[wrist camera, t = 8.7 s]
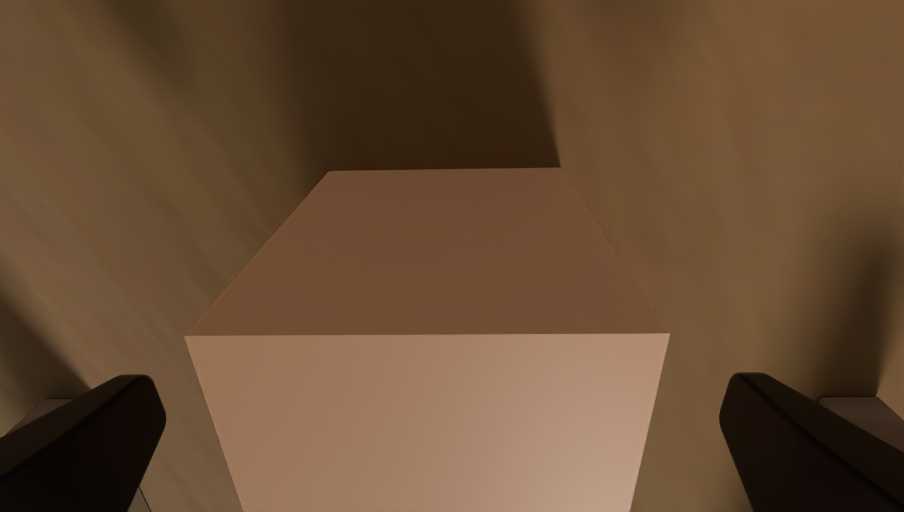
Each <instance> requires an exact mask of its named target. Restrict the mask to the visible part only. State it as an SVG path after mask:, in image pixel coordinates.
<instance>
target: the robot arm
mask: <svg viewBox="0 0 904 512" xmlns="http://www.w3.org/2000/svg"><path fill="white" fill-rule="evenodd" d="M719 421H720V427H721V430H722V433H723V435H724V438H725V440H726V443H727V445H728V448H729V450H730V453H731V456H732V458H733V461H734V463H735V466H736V468H737V471H738V474H739V476H740V479H741V481H742V484H743V486H744V489H745V492H746V494H747V497H748V499H749V502H750V504H751V507H752V510H753V512H904V452H903V451H901V450H900V449H898V448H896V447H894V446H892V445H891V444H889V443H887V442H885V441H884V440H882V439H880V438H878V437H877V436H875V435H873V434H871V433H869V432H868V431H866V430H864V429H862V428H861V427H859V426H857V425H855V424H854V423H852V422H850V421H848V420H847V419H845V418H843V417H841V416H839V415H838V414H836V413H834V412H832V411H831V410H829V409H827V408H825V407H824V406H822V405H820V404H818V403H817V402H815V401H813V400H811V399H809V398H808V397H806V396H804V395H802V394H801V393H799V392H797V391H795V390H794V389H792V388H790V387H788V386H787V385H785V384H783V383H781V382H779V381H778V380H776V379H774V378H772V377H771V376H769V375H767V374H764V373H759V372H739V373H736V374H734V375H733V376H732V377H731V378H730V381H729V384H728V387H727V390H726V393H725V396H724V400H723V403H722V406H721V409H720V414H719ZM165 424H166V412H165V409H164V407H163V404H162V402H161V399H160V397H159V394H158V391H157V389H156V386H155V384H154V382H153V380H152V379H151V378H150V377H149V376H147V375H143V374H135V375H120V376H117V377H115V378H113V379H111V380H109V381H107V382H105V383H103V384H101V385H99V386H98V387H96V388H94V389H92V390H90V391H88V392H86V393H84V394H82V395H81V396H79V397H77V398H75V399H73V400H71V401H69V402H67V403H65V404H63V405H62V406H60V407H58V408H56V409H54V410H52V411H50V412H48V413H46V414H45V415H43V416H41V417H39V418H37V419H35V420H33V421H31V422H29V423H28V424H26V425H24V426H22V427H20V428H18V429H16V430H14V431H12V432H11V433H9V434H7V435H5V436H3V437H1V438H0V512H128V510H129V508H130V506H131V504H132V501H133V499H134V497H135V495H136V492H137V490H138V488H139V486H140V483H141V481H142V479H143V476H144V474H145V472H146V470H147V467H148V465H149V463H150V461H151V458H152V456H153V454H154V451H155V449H156V447H157V445H158V442H159V440H160V438H161V436H162V433H163V431H164V428H165Z"/></svg>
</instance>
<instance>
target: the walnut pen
mask: <svg viewBox="0 0 904 512" xmlns="http://www.w3.org/2000/svg"><path fill="white" fill-rule="evenodd" d="M71 400H73V399H44V400H43V401H42V402H41V403H40V404H39V405H38V406H36V407H35V408H34V409H33V410H32V411H31V412H30V413H29V414H28V415H27V416H25V417H24V418H23V419H22V420H21V421H20V422H19V423H18V424H17V425H16V426H14V427H13V428H12V429H11V430H10V431H9V432H8V433H7V434H9V433H11V432H12V431H14V430H16V429H18V428H20V427H22V426H24V425H26V424H28V423H29V422H31V421H33V420H35V419H37V418H39V417H41V416H43V415H45V414H46V413H48V412H50V411H52V410H54V409H56V408H58V407H60V406H62V405H63V404H65V403H67V402H69V401H71ZM818 404H820V405H822V406H824V407H825V408H827V409H829V410H831V411H832V412H834V413H836V414H838V415H839V416H841V417H843V418H845V419H847V420H848V421H850V422H852V423H854V424H855V425H857V426H859V427H861V428H862V429H864V430H866V431H868V432H869V433H871V434H873V435H875V436H877V437H878V438H880V439H882V440H884V441H885V442H887V443H889V444H891V445H892V446H894V447H896V448H898V449H900V450H901V451H903V452H904V420H903V419H901V418H900V417H899V416H898V415H897V414H896V413H895V412H894V411H893V410H892V409H890V408H889V407H888V406H887V405H886V404H885V403H884V402H883V401H882V400H881V399H879V398H878V397H821V398H820V400H819V403H818ZM7 434H6V435H7ZM128 512H150V510H149V508H148V506H147V504H146V502H145V500H144V498H143V496H142V493H141V491H140V489H139V488H138V490H137V492H136V495H135V497H134V499H133V501H132V504H131V506H130V508H129V510H128Z"/></svg>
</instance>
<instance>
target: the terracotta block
mask: <svg viewBox="0 0 904 512" xmlns="http://www.w3.org/2000/svg"><path fill="white" fill-rule="evenodd" d="M669 336H670V332H669V331H668V329H667V328H666V326H665V325H664V323H663V322H662V320H661V319H660V317H659V316H658V314H657V313H656V311H655V310H654V308H653V307H652V305H651V304H650V302H649V301H648V299H647V298H646V296H645V295H644V293H643V292H642V290H641V288H640V287H639V285H638V284H637V282H636V281H635V279H634V278H633V276H632V275H631V273H630V272H629V270H628V269H627V267H626V266H625V264H624V263H623V261H622V260H621V258H620V257H619V255H618V254H617V252H616V251H615V249H614V248H613V246H612V245H611V243H610V241H609V240H608V238H607V237H606V235H605V234H604V232H603V231H602V229H601V228H600V226H599V225H598V223H597V222H596V220H595V219H594V217H593V216H592V214H591V213H590V211H589V210H588V208H587V207H586V205H585V204H584V202H583V201H582V199H581V197H580V196H579V194H578V193H577V191H576V190H575V188H574V187H573V185H572V184H571V182H570V181H569V179H568V178H567V176H566V175H565V173H564V172H563V170H562V169H561V168H496V169H430V170H363V171H329V172H328V173H327V174H326V175H325V176H324V177H323V178H322V180H321V181H320V182H319V183H318V184H317V185H316V186H315V187H314V189H313V190H312V191H311V192H310V193H309V194H308V195H307V197H306V198H305V199H304V200H303V201H302V202H301V203H300V205H299V206H298V207H297V208H296V209H295V210H294V211H293V212H292V214H291V215H290V216H289V217H288V218H287V219H286V220H285V222H284V223H283V224H282V225H281V226H280V227H279V228H278V230H277V231H276V232H275V233H274V234H273V235H272V236H271V238H270V239H269V240H268V241H267V242H266V243H265V244H264V245H263V247H262V248H261V249H260V250H259V251H258V252H257V253H256V255H255V256H254V257H253V258H252V259H251V260H250V261H249V263H248V264H247V265H246V266H245V267H244V268H243V269H242V270H241V272H240V273H239V274H238V275H237V276H236V277H235V278H234V280H233V281H232V282H231V283H230V284H229V285H228V286H227V288H226V289H225V290H224V291H223V292H222V293H221V294H220V295H219V297H218V298H217V299H216V300H215V301H214V302H213V303H212V305H211V306H210V307H209V308H208V309H207V310H206V311H205V313H204V314H203V315H202V316H201V317H200V318H199V319H198V321H197V322H196V323H195V324H194V325H193V326H192V327H191V328H190V330H189V331H188V332H187V333H186V334H185V335H184V338H185V341H186V344H187V347H188V349H189V352H190V355H191V358H192V361H193V364H194V367H195V370H196V373H197V376H198V379H199V382H200V385H201V388H202V391H203V394H204V397H205V400H206V403H207V406H208V409H209V411H210V414H211V417H212V420H213V423H214V426H215V429H216V432H217V435H218V438H219V441H220V444H221V447H222V450H223V453H224V456H225V459H226V462H227V465H228V468H229V471H230V473H231V476H232V479H233V482H234V485H235V488H236V491H237V494H238V497H239V500H240V503H241V506H242V509H243V512H630V507H631V503H632V499H633V494H634V490H635V485H636V481H637V477H638V472H639V468H640V464H641V459H642V455H643V450H644V446H645V442H646V437H647V433H648V428H649V424H650V420H651V415H652V411H653V406H654V402H655V398H656V393H657V389H658V385H659V380H660V376H661V371H662V367H663V363H664V358H665V354H666V349H667V345H668V341H669Z"/></svg>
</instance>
